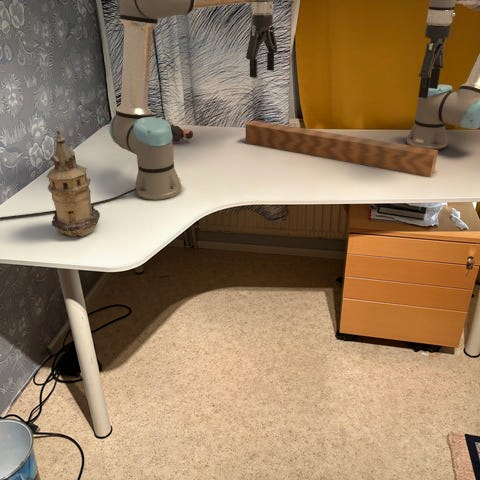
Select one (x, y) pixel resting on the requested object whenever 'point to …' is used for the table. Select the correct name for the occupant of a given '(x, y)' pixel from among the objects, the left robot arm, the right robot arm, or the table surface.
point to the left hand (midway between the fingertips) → (262, 73)
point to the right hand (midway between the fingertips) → (428, 93)
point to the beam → (343, 147)
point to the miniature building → (70, 193)
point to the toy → (180, 133)
